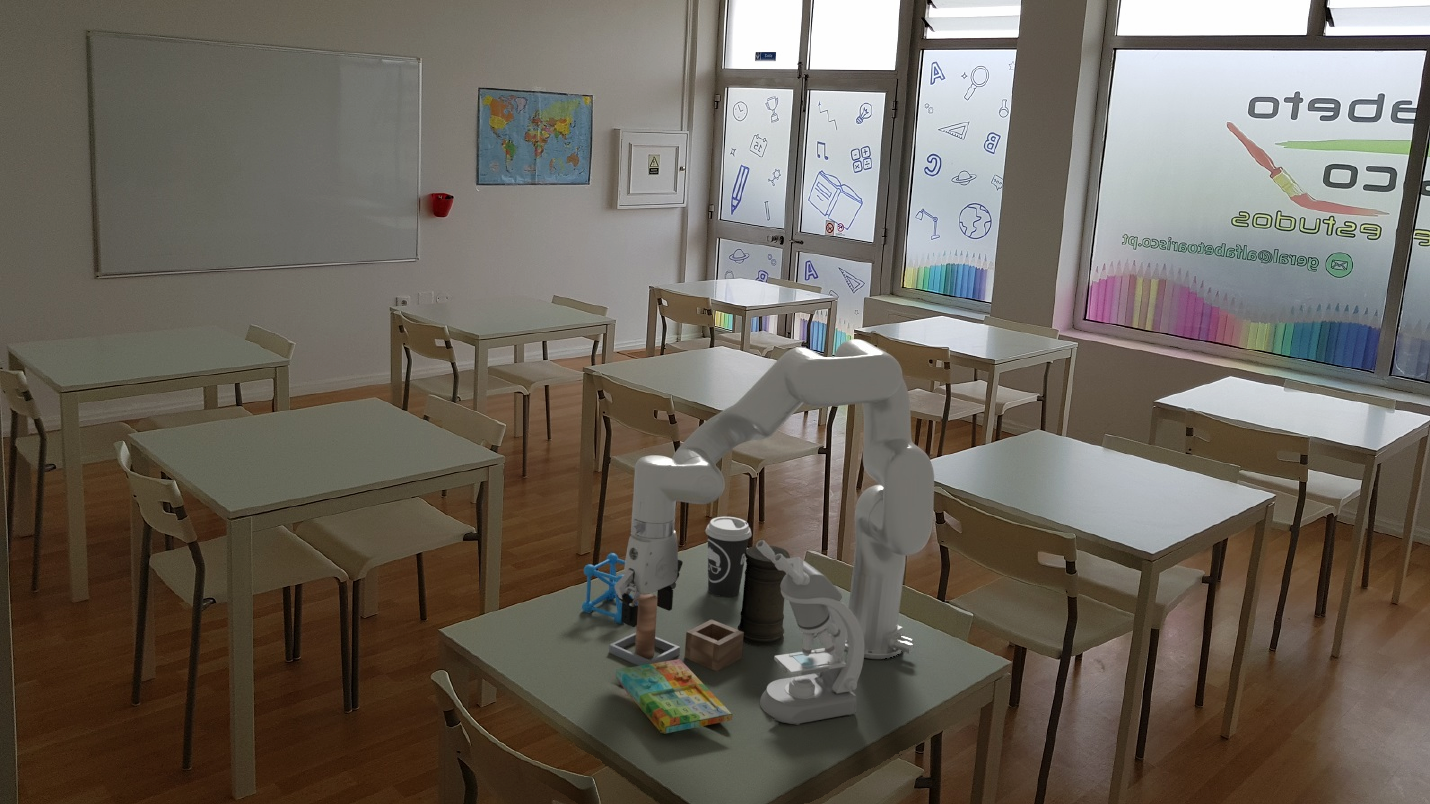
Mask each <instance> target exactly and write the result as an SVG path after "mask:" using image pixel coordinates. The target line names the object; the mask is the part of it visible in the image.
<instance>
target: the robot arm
mask: <svg viewBox="0 0 1430 804" xmlns="http://www.w3.org/2000/svg"><path fill="white" fill-rule="evenodd" d="M908 390H909V389H908V387H907V385H906V382H905V379H904V378H903V369H902V366H901V365H900V362H899V361H898V360H897V359H896V358H895V357H894V356H893V355H892V354H890V353H888V352H886V351H884V350H882V349H880V348H878V347H877V346H875V345H873V344H872V343H870V342H868V341H866V340H863V339H858V338H857V339H853V338H852V339H848V340H845V341H844V342H842V343H841V344H840V345H839V346H838V347H837V348H836V351H835V354H834V357H825V356H823V355H821V354H819V353H818V352H816V351H814V350H812V349H809V348H806V347H801V346H799V347H794V348H791V349H789V350H787V351H786V352H785V353H784V354H782V355H781V356H780V357H779V358H778V359H777V361H775V363H774V364H772V365H771V367H770V368H768V370H767V371H766V372H765V373H764V374H763V375H762V376H761V377H760V378H759V379H758V380H757V381H756V383H754V385H753V386H752V387H751V388H750V389H748V391H747V392H745V394H744V395H743V396H742V397H741V398H739V400H738V401H736V403H734V404H733V405H731V406H728V407H727V408H725V409H724V410H722V411H721V412H719V413H717V414H716V415H714V416H712V417H710V418H709V419H707V420H706V421H705V422H703V423H702V424H701V425H700V426H698V427H697V428H696V429H695V430H694V431H693V432H692V433H691V434H690V436H688V437H687V438H686V440H685V441H684V442H682V444H681V445H680V446H679V447H678V448H677V450H676V451H675V452H674V454H673V455H672V457H669V456H664V455H658V454H657V455H655V454H654V455H646V456H642V457H640V458H639V459H637V461H636V463H635V466H634V477H633V479H634V480H633V495H632V508H631V509H632V511H631V526H630V527H631V528H630V534H631V535H630V536H629V538H628V542H627V548H626V555H625V560H624V561H625V565H624V568H623V569H624V570H623V575H624V576H623V577H622V578H621V579H620V580H619V581H618V582H617V583H616V584H615V586H614V588H615V591H616V593H617V597H618V598H619V600H620V602H622V614H621V621H622V623H621V624H625V625H627V626H630V627H633V628H636V626H637V616H638V606H637V605H635V604H636V603H637V601H638V599H639V597H640V595H641V594H642V595H648V594H652V593H654V592H655V593H656V592H657V594H656V596H657V608H661V609H664V610H666V611H668V612H670V611H672V610H673V600H674V590H675V588H676V587H677V583H676V582H677V581H678V579H679V577H680V573H681V572H680V571H681V568H682V567H683V561H682V560H681V559H679V550H678V549H679V547H678V536H677V532H676V530H675V523H676V521H675V519H676V507H677V502H682V503H688V504H693V505H694V504H695V505H707V504H712V503H714V502H715V501H717V500H718V499H719V498H720V497H721V496H722V495H723V492H724V490H725V487H726V486H725V477H724V475H723V473H722V472H721V469H720V468H719V467H718V466H717V463H718V462H719V461H720V460H721V459H723V457H724V456H725V455H726V454H727V453H728V452H729V451H731V450H733V449H734V448H737V446H739V445H742V444H743V443H747V442H752V441H760V440H764V439H768V438H770V437H772V436H773V435H775V434H776V432H777V431H778V430H779V429H780V428H782V426H783V425H784V424H785V422H787V420H789V418H790V417H791V416H792V415H793V414H795V412H796V411H797V410H799V408H801V406H802V405H804V404H805V405H807V406H810V407H820V408H823V407H824V408H825V407H826V408H828V407H829V408H830V407H839V406H850V405H859V404H862V405H861V406H862V411H863V414H862V415H863V439H862V440H863V444H862V445H863V446H862V463H863V468H864V471H865V473H866V474H868V476H869V478H871V479H872V480H874V481H875V482H876V483H877V484H876V485H875V484H874V485H872V486H870V487H868V488H866V489H865V490H864V491H863V492H862V493H861V494H860V496H859V497H858V499H857V501H856V505H855V509H854V510H855V512H854V526H855V527H854V528H855V545H854V557H853V558H854V559H853V565H852V567H853V568H852V576H851V583H850V593H849V602H848V608H849V609H850V610H851V611H852V613H853V614H854V616H855V617H856V619H857V621H858V623H859V625H860V627H861V630H862V633H863V638H864V658H865V659H871V660H884V659H885V658H887V659H891V658H890V657H892V658H894V657H893V656H895V655H897V654H899V655H900V654H902V652H903V653H906V654H909V655H911V654H912V653H913V651H914V649H915V645H914V642H915V640H914V639H913V638H911V637H907V636H904V635H903V633H902V632H903V626H901V625H899V615H900V609H901V607H900V606H901V599H902V592H903V582H904V574H905V568H906V556H907V557H908V556H909V557H910V556H912V555H915V554H917V553H919V552H920V551H922V550H923V548H924V547H926V545H927V544H928V542H929V540H930V537H931V534H932V530H933V523H934V522H933V521H934V501H935V499H934V497H935V491H934V490H935V473H934V467H933V464H932V462H931V459H930V457H929V455H928V454H927V453H926V452H925V451H924V450H923V449H922V448H920V447H919V446H918V445H917V444H915V443H914V442H913V439H912V425H911V424H912V422H911V421H912V420H911V416H912V415H911V399H910V393H909V391H908ZM631 592H633V595H631ZM629 594H630V595H631V596H632V598H631V597H630V596H629ZM848 649H849V637H848V633H847V630H846V644H845V650H844V652H847V653H848ZM901 651H902V652H901ZM897 656H898V655H897ZM895 657H896V656H895ZM885 660H886V659H885Z"/></svg>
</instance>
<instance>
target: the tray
mask: <svg viewBox="0 0 1430 804" xmlns="http://www.w3.org/2000/svg"><path fill="white" fill-rule="evenodd" d="M635 642H636V631H635V632H634V633H632V634H630V635H626V636H624V637H622V638H621V639H618V640H616V641H615V642H612V643H610V644H609V647H608V649H609V650H608V653H609V654H611V655H613V656H616V657H618V658H620V659H622V660H625V661H627V662H630V663H631V664H634V665H635V666H641V665H647V664H653V663H659V662H665V661H671V660H673V659H674V658H676V657H678V656H680V653H681V647H680V646H679V645H677V644H674V643H672V642H670V641H667V640H664V639H663V638H660V637H657V636H655V647H656V648H658V649H661V650H663V651H664V652H663V653H661V654H658V655H657V656H655V657H654V656H653V658H652V657H651V659H649V658H643V657H641V656H639V655H637V654H635V652H631V651H630V650H627V649H624V648H626V647H628V646H630V645H633V644H635Z"/></svg>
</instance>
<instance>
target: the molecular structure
mask: <svg viewBox="0 0 1430 804" xmlns="http://www.w3.org/2000/svg"><path fill="white" fill-rule="evenodd" d="M617 563H618V564H621V565H624V566H625V560H623V559H620V558H619V556H618V555H617V554H616V553H614V552H610V553H609V554H608V555H607V556H606V559H605V560H604V561H602V562H599V563H598V564H595V565H593V564H591V563H590V564H587V565H585V566H584V568H583V573H584V575H585V576H587V577H586V597H585V598H586V599H585V600H584V602H582V604H581V609H582V611H583V612H584V613H587V614H588V613H589V612H590V613H592V611H593V612H596V613H599V614H602V615H606V616H608V617H611V618H613V620H614V622H615V623H616V624H623V623H622V621H621V614H622V602H620V600H619V598H618V597H617V593H616V591H615V588H614V586H615V584H616V583H617V582H618V581H619V580H620V579H621V578H622V577H623V576H624V573H623V574H619V575H617V570H616V564H617ZM608 564H609V573H605V572H603V571H599V570H598V569H599V568H601V567H603V566H605V565H608ZM593 576H594V577H595V578H597V579H599V580H601V581H602V582H603V583H605V584H606V585H608V589H606V590H605V592H604V593H603V594H601V595H600V596H599V597H597V598H596V599H594V600H593V601H591V588H592V587H591V586H592V577H593ZM629 596H630V597H631V598H632V596H633V595H631V593H630V594H629ZM605 600H607V601H613V600H615V604H616V612H615V613H613V612H611V611H608V610H605V609H601V608H598V607H596V605H597V604H599V603H601V602H603V601H605ZM637 603H638V601H637ZM637 603H636V604H635V605H637Z"/></svg>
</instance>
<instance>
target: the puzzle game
mask: <svg viewBox="0 0 1430 804" xmlns="http://www.w3.org/2000/svg"><path fill="white" fill-rule="evenodd" d="M615 677H616V679H617V680H618V681H617V682H619V684H620V685H621V687H622V688H623V689H624V691H625V692H626V693H627V694H628V696H629V697H630V698H631V699H632V701H634V703H635V704H636V705H637V707H638V708H640V709H641V711H642V712H643V713H644V715H645V717H647V718H648V719H649V721H650V722H651V723H652V725H654V726H655V727H656V729H657V730H658V732H660V734H671V733H674V732H680V731H685V730H688V729H689V730H690V729H694V728H699V727H700V728H701V727H704V726H709V725H714V724H719V723H725V722H729V721H732V720H733V713H732V712H730V710H729V709H728V708H727V707H726V706H725V705H724V704H723V702H721V701H720V699H718V698H717V697H716V695H715V694H714V693H713V692H712V691H711V690H710V689H709V688H708V687H707V686H706V685H705V684H704V683H703V682H702V680H700V678H699V677H697V676H696V674H695V673H694V672H693V671H692V670H691V669H690V668H689V666H687V665H686V663H684V662H683V661H682V660H681V659H680V658H677V659H670V660H668V661H665V662H659V663H653V664H647V665H641V666H638V665H635V666H630V667H624V668H619V669H616V674H615Z"/></svg>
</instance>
